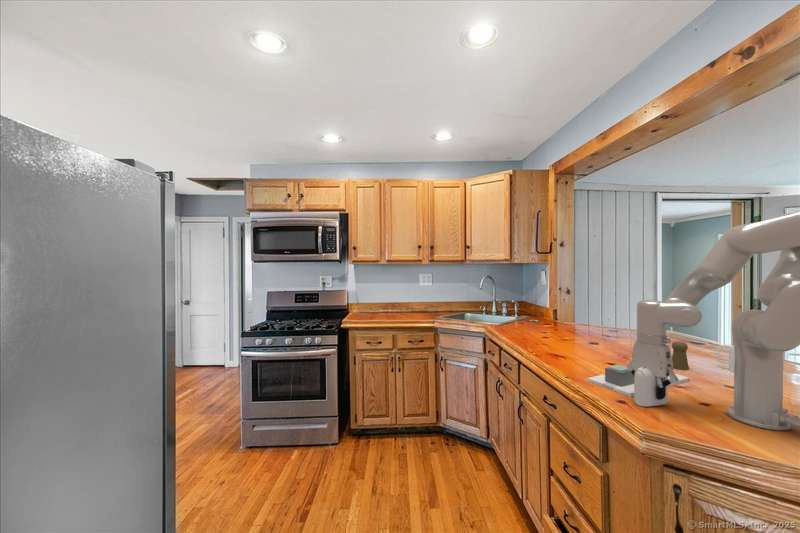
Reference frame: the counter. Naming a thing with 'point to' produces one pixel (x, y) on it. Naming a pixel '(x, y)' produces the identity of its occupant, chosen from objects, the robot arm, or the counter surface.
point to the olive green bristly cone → (680, 356)
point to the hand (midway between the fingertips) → (650, 394)
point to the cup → (731, 356)
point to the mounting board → (630, 387)
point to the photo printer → (647, 388)
